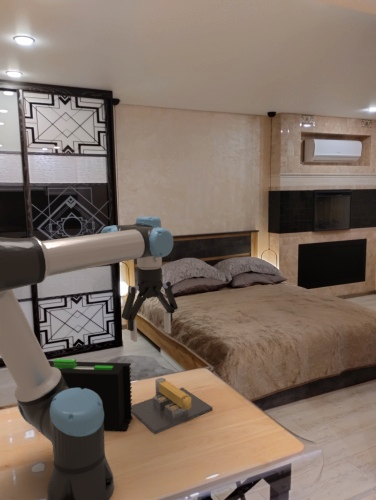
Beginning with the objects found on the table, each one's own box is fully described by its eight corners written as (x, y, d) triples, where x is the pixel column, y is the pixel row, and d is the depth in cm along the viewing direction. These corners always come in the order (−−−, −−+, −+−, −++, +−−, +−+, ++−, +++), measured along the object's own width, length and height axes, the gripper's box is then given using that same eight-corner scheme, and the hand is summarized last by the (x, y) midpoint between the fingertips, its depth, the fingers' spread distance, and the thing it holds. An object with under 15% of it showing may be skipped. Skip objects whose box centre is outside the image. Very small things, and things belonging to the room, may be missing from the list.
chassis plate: (154, 433, 118) (154, 422, 118) (126, 408, 132) (126, 398, 132) (212, 410, 131) (212, 399, 130) (181, 389, 145) (181, 379, 145)
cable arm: (153, 395, 138) (153, 379, 137) (162, 392, 140) (162, 377, 139) (184, 419, 123) (184, 401, 122) (194, 415, 125) (194, 398, 124)
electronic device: (134, 412, 130) (132, 353, 128) (126, 432, 119) (124, 368, 117) (51, 409, 133) (47, 351, 130) (35, 427, 122) (31, 365, 120)
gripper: (119, 273, 113) (122, 348, 115) (188, 264, 126) (189, 331, 129) (108, 269, 119) (110, 341, 121) (175, 261, 132) (176, 325, 135)
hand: (151, 336), depth 125 cm, fingers open, 11 cm apart
